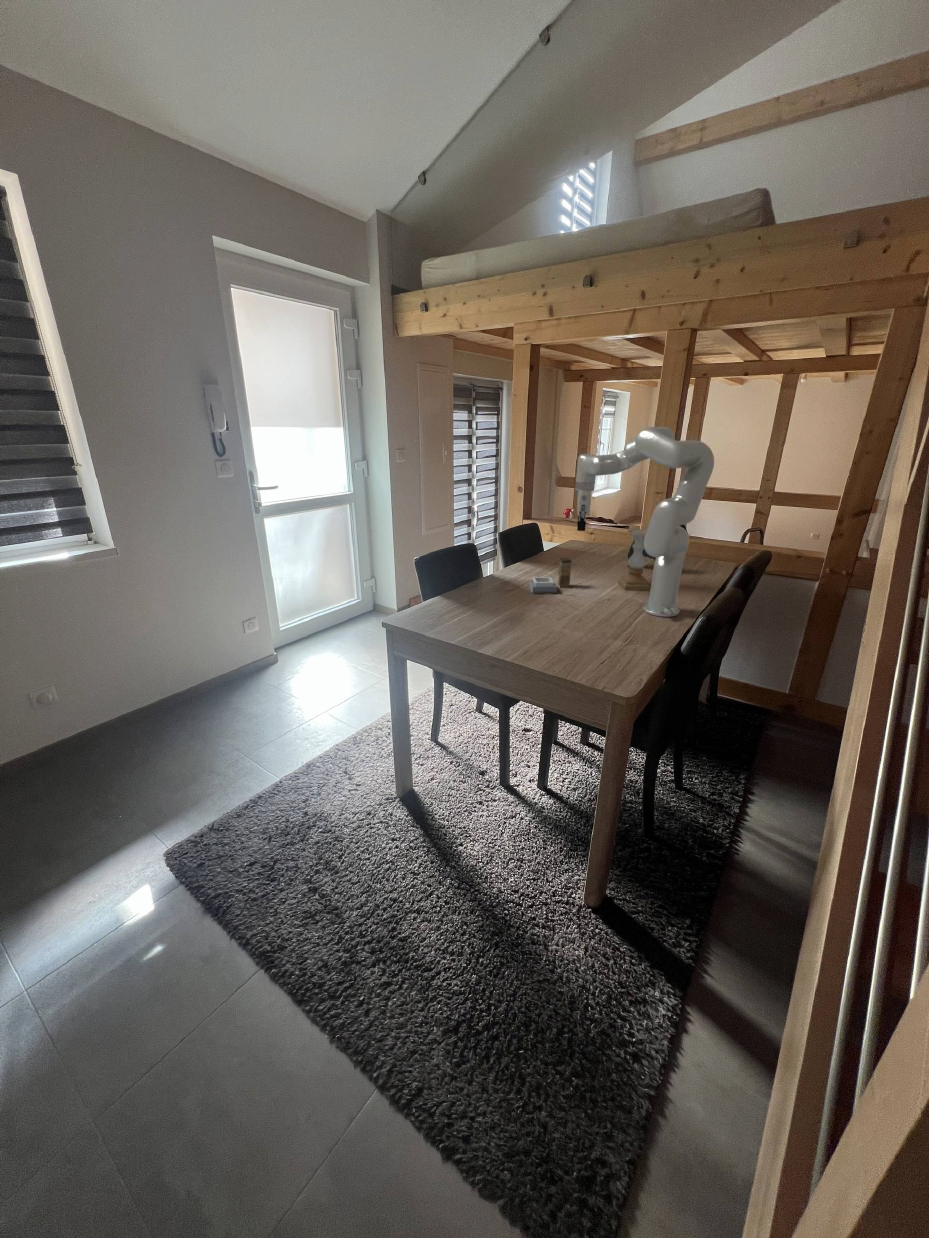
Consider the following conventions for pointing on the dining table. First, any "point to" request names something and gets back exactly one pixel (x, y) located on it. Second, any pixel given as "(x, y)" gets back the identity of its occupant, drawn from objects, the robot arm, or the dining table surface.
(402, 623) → the dining table surface
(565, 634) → the dining table surface
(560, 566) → the brown tall boxy piece
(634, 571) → the candle holder
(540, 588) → the candle tray
